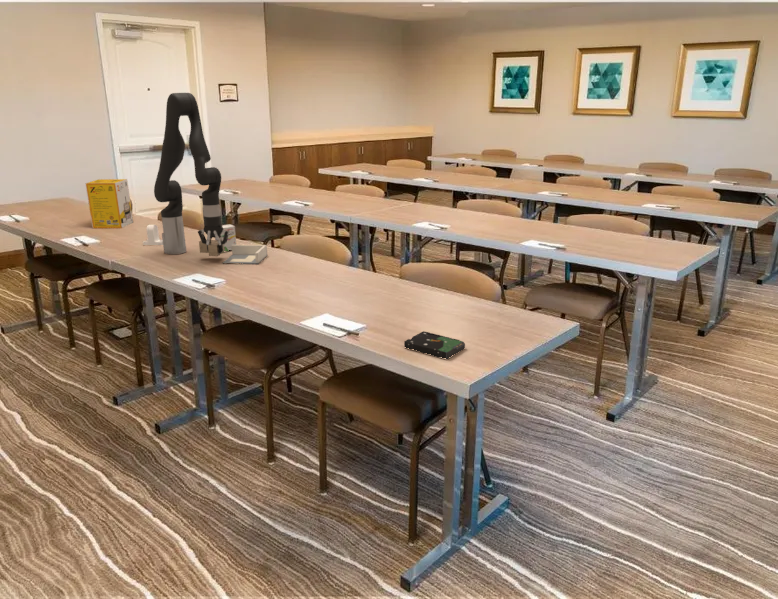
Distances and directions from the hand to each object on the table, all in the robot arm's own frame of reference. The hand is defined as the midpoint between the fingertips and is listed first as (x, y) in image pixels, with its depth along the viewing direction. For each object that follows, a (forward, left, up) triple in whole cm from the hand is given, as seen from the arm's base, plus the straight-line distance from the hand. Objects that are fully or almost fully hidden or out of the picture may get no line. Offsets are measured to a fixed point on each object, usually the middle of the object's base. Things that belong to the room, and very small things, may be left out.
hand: (215, 252), depth 275 cm
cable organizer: (-42, +31, -4) cm, 52 cm away
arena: (+12, +3, -4) cm, 13 cm away
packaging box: (-86, +76, -4) cm, 114 cm away
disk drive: (+97, -94, -5) cm, 135 cm away
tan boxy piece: (-3, +1, -1) cm, 3 cm away
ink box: (-2, +20, -4) cm, 20 cm away
